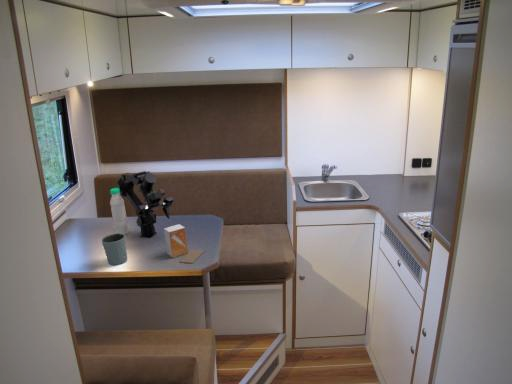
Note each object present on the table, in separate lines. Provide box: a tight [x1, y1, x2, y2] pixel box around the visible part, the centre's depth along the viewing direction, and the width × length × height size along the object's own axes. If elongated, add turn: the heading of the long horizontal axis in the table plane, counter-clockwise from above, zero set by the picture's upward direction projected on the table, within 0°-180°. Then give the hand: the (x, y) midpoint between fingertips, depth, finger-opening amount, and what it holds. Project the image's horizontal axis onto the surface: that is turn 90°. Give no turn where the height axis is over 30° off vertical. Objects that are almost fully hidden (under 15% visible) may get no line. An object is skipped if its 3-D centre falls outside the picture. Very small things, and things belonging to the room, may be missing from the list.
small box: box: [163, 223, 189, 258], centre depth 202 cm, size 8×6×13 cm
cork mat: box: [178, 249, 205, 265], centre depth 200 cm, size 6×12×1 cm, turn 162°
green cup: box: [101, 233, 128, 267], centre depth 199 cm, size 10×10×12 cm
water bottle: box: [109, 187, 130, 236], centre depth 229 cm, size 7×7×25 cm
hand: (162, 220), depth 209 cm, fingers open, 7 cm apart
